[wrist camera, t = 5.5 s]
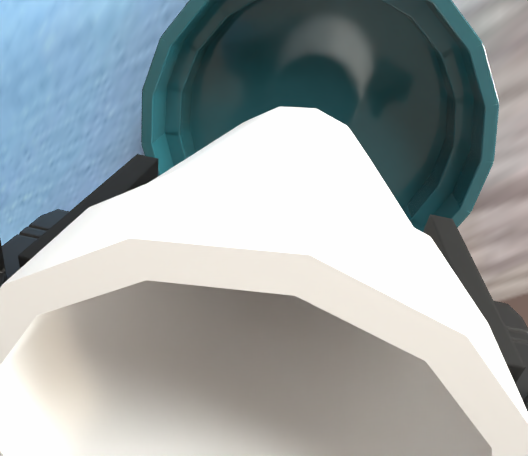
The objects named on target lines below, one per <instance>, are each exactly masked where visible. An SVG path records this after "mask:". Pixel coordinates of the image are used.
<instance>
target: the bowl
mask: <svg viewBox="0 0 528 456" xmlns="http://www.w3.org/2000/svg"><path fill="white" fill-rule="evenodd" d="M280 106H281V107H300V108H316V109H318V110H320V111H322V112H323V113H325V114H327V115H329V116H331V117H332V118H334V119H336V120H338V121H340V122H341V123H343V124H345V125H347V126H348V127H349V129H350V130H351V131H352V133H353V134H354V136H355V137H356V139H357V140H358V142H359V143H360V145H361V146H362V148H363V149H364V151H365V152H366V154H367V155H368V157H369V158H370V160H371V161H372V163H373V164H374V166H375V168H376V169H377V171H378V172H379V174H380V175H381V177H382V179H383V180H384V182H385V183H386V185H387V186H388V188H389V190H390V191H391V193H392V194H393V196H394V197H395V199H396V200H397V202H398V204H399V205H400V207H401V208H402V210H403V211H404V213H405V215H406V216H407V218H408V219H409V221H410V222H411V224H412V226H413V227H414V228H415V229H417V230H419V231H421V232H423V231H424V228H425V226H426V223H427V221H428V218H429V216H430V214H431V215H436V216H441V217H446V218H450V219H453V221H454V223H455V225H456V227H458V226H459V225H460V224H461V223H462V222H463V221H464V220H465V218H466V217H467V216H468V215H469V214H470V212H471V211H472V209H473V207H474V205H475V202H476V200H477V198H478V196H479V194H480V191H481V189H482V187H483V185H484V182H485V180H486V178H487V176H488V174H489V171H490V169H491V167H492V165H493V161H494V155H495V145H496V134H497V123H498V112H499V100H498V96H497V92H496V89H495V85H494V81H493V77H492V74H491V70H490V66H489V63H488V59H487V55H486V52H485V48H484V44H483V43H482V41H481V39H480V38H479V37H478V35H477V34H476V33H475V31H474V30H473V29H472V27H471V26H470V25H469V23H468V22H467V21H466V19H465V18H464V17H463V15H462V14H461V12H460V11H459V10H458V8H457V7H456V6H455V4H454V3H453V2H452V0H189V2H188V3H187V4H186V5H185V7H184V8H183V9H182V11H181V12H180V13H179V14H178V16H177V17H176V18H175V19H174V21H173V22H172V23H171V25H170V26H169V27H168V28H167V30H166V31H165V32H164V34H163V35H162V36H161V38H160V40H159V43H158V46H157V49H156V51H155V54H154V57H153V60H152V63H151V66H150V69H149V72H148V75H147V78H146V80H145V83H144V86H143V89H142V137H141V142H142V147H143V151H144V154H145V156H148V157H153V158H158V176H160V175H161V174H163V173H165V172H166V171H168V170H169V169H171V168H172V167H174V166H176V165H177V164H179V163H180V162H182V161H183V160H185V159H187V158H188V157H190V156H191V155H193V154H194V153H196V152H198V151H199V150H201V149H202V148H204V147H205V146H207V145H209V144H210V143H212V142H213V141H215V140H216V139H218V138H220V137H221V136H223V135H224V134H226V133H227V132H229V131H231V130H232V129H234V128H235V127H237V126H238V125H240V124H242V123H243V122H246V121H247V120H249V119H252V118H254V117H256V116H259V115H261V114H263V113H266V112H268V111H270V110H273V109H275V108H277V107H280Z"/></svg>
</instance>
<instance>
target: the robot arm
mask: <svg viewBox="0 0 528 456" xmlns="http://www.w3.org/2000/svg"><path fill="white" fill-rule="evenodd" d="M157 177H158V158H153V157H148V156H144V155H139V154H137V155H136V156H135V157H133V158H132V159H131V160H130V161H129V162H128V163H126V164H125V165H124V166H123V167H122V168H121V169H119V170H118V171H117V172H116V173H115V174H113V175H112V176H111V177H110V178H109V179H108V180H106V181H105V182H104V183H103V184H102V185H100V186H99V187H98V188H97V189H96V190H95V191H93V192H92V193H91V194H90V195H89V196H87V197H86V198H85V199H84V200H83V201H82V202H80V203H79V204H78V205H77V206H76V207H74V208H73V209H72V210H71V211H70V212H69V211H64V210H60V209H57V210H55V211H52V212H49V213H47V214H44V215H42V216H40V217H39V218H38V219H36V220H35V221H34V222H32V223H31V224H30V225H29V227H26V228H25V229H23V230H22V231H21V232H20V234H19V235H18V234H17V235H16V236H14V237H13V238H12V239H11V240H9V241H8V242H7V243H6V244H4V245H3V246H1V240H0V287H1V286H2V285H3V284H4V283H5V282H6V281H7V280H8V279H9V278H10V277H11V276H13V275H14V274H15V273H16V272H17V271H18V270H19V269H20V268H22V267H23V266H24V265H25V264H26V263H27V262H28V261H29V260H30V259H32V258H33V257H34V256H35V255H36V254H37V253H38V252H39V251H41V250H42V249H43V248H44V247H45V246H46V245H47V244H48V243H49V242H51V241H52V240H53V239H54V238H55V237H56V236H57V235H58V234H60V233H61V232H62V231H63V230H64V229H65V228H66V227H67V226H68V225H70V224H71V223H72V222H73V221H74V220H75V219H76V218H77V217H79V216H80V215H81V214H82V213H83V212H84V211H85V210H86V209H87V208H89V207H91V206H93V205H96V204H98V203H101V202H103V201H106V200H108V199H111V198H113V197H115V196H118V195H120V194H123V193H125V192H128V191H130V190H132V189H135V188H137V187H140V186H142V185H145V184H147V183H149V182H150V181H152V180H153V179H155V178H157ZM423 233H425V234H426V235H428V236H430V237H431V238H432V240H433V241H434V243H435V244H436V246H437V247H438V249H439V250H440V252H441V253H442V255H443V256H444V258H445V259H446V261H447V262H448V264H449V265H450V267H451V268H452V270H453V271H454V273H455V274H456V276H457V277H458V279H459V280H460V282H461V283H462V285H463V286H464V288H465V289H466V291H467V292H468V294H469V295H470V297H471V298H472V300H473V301H474V303H475V304H476V306H477V307H478V309H479V310H480V312H481V313H482V315H483V316H484V318H485V319H486V321H487V322H488V324H489V327H490V329H491V331H492V333H493V336H494V338H495V340H496V342H497V345H498V347H499V349H500V351H501V354H502V356H503V358H504V360H505V362H506V365H507V367H508V369H509V371H510V374H511V376H512V378H513V380H514V383H515V385H516V387H517V389H518V392H519V394H520V396H521V398H522V400H523V403H524V405H525V407H526V409H527V412H528V327H527V326H526V324H525V322H524V320H523V319H522V317H521V316H520V315H519V314H518V313H517V312H516V311H515V310H514V309H513V308H511V307H510V306H509V305H508V304H506V303H501V302H496V301H493V300H492V297H491V295H490V293H489V291H488V289H487V287H486V285H485V283H484V281H483V279H482V277H481V275H480V273H479V271H478V269H477V267H476V265H475V263H474V261H473V259H472V257H471V255H470V253H469V251H468V249H467V247H466V245H465V243H464V241H463V239H462V237H461V235H460V233H459V231H458V229H457V227H456V225H455V223H454V221H453V219H450V218H446V217H441V216H436V215H431V214H430V216H429V218H428V221H427V223H426V226H425V228H424V231H423Z"/></svg>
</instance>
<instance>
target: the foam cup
mask: <svg viewBox="0 0 528 456" xmlns="http://www.w3.org/2000/svg"><path fill="white" fill-rule="evenodd" d="M0 456H528V412H527V409H526V407H525V405H524V403H523V400H522V398H521V396H520V394H519V392H518V389H517V387H516V385H515V383H514V380H513V378H512V376H511V374H510V371H509V369H508V367H507V365H506V362H505V360H504V358H503V356H502V354H501V351H500V349H499V347H498V345H497V342H496V340H495V338H494V336H493V333H492V331H491V329H490V327H489V324H488V322H487V321H486V319H485V318H484V316H483V315H482V313H481V312H480V310H479V309H478V307H477V306H476V304H475V303H474V301H473V300H472V298H471V297H470V295H469V294H468V292H467V291H466V289H465V288H464V286H463V285H462V283H461V282H460V280H459V279H458V277H457V276H456V274H455V273H454V271H453V270H452V268H451V267H450V265H449V264H448V262H447V261H446V259H445V258H444V256H443V255H442V253H441V252H440V250H439V249H438V247H437V246H436V244H435V243H434V241H433V240H432V238H431V237H430V236H428V235H426V234H425V233H423V232H421V231H419V230H417V229H415V228H414V227H413V226H412V224H411V222H410V221H409V219H408V218H407V216H406V215H405V213H404V211H403V210H402V208H401V207H400V205H399V204H398V202H397V200H396V199H395V197H394V196H393V194H392V193H391V191H390V190H389V188H388V186H387V185H386V183H385V182H384V180H383V179H382V177H381V175H380V174H379V172H378V171H377V169H376V168H375V166H374V164H373V163H372V161H371V160H370V158H369V157H368V155H367V154H366V152H365V151H364V149H363V148H362V146H361V145H360V143H359V142H358V140H357V139H356V137H355V136H354V134H353V133H352V131H351V130H350V129H349V127H348V126H347V125H345V124H343V123H341V122H340V121H338V120H336V119H334V118H332V117H331V116H329V115H327V114H325V113H323V112H322V111H320V110H318V109H316V108H300V107H281V106H280V107H277V108H275V109H273V110H270V111H268V112H266V113H263V114H261V115H259V116H256V117H254V118H252V119H249V120H247V121H246V122H243V123H242V124H240V125H238V126H237V127H235V128H234V129H232V130H231V131H229V132H227V133H226V134H224V135H223V136H221V137H220V138H218V139H216V140H215V141H213V142H212V143H210V144H209V145H207V146H205V147H204V148H202V149H201V150H199V151H198V152H196V153H194V154H193V155H191V156H190V157H188V158H187V159H185V160H183V161H182V162H180V163H179V164H177V165H176V166H174V167H172V168H171V169H169V170H168V171H166V172H165V173H163V174H161V175H160V176H158V177H157V178H155V179H153V180H152V181H150V182H149V183H147V184H145V185H142V186H140V187H137V188H135V189H132V190H130V191H128V192H125V193H123V194H120V195H118V196H115V197H113V198H111V199H108V200H106V201H103V202H101V203H98V204H96V205H93V206H91V207H89V208H87V209H86V210H85V211H84V212H83V213H82V214H81V215H80V216H79V217H77V218H76V219H75V220H74V221H73V222H72V223H71V224H70V225H68V226H67V227H66V228H65V229H64V230H63V231H62V232H61V233H60V234H58V235H57V236H56V237H55V238H54V239H53V240H52V241H51V242H49V243H48V244H47V245H46V246H45V247H44V248H43V249H42V250H41V251H39V252H38V253H37V254H36V255H35V256H34V257H33V258H32V259H30V260H29V261H28V262H27V263H26V264H25V265H24V266H23V267H22V268H20V269H19V270H18V271H17V272H16V273H15V274H14V275H13V276H11V277H10V278H9V279H8V280H7V281H6V282H5V283H4V284H3V285H2V286H1V287H0Z"/></svg>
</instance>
